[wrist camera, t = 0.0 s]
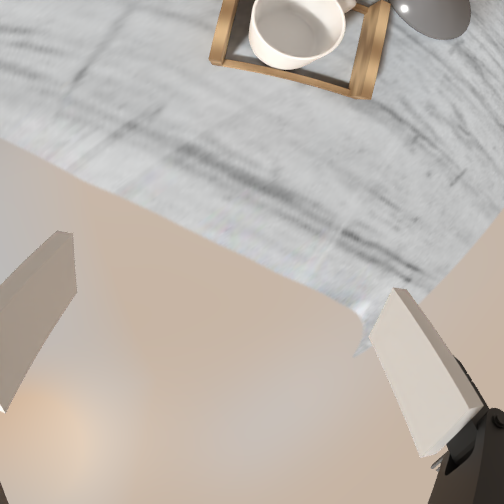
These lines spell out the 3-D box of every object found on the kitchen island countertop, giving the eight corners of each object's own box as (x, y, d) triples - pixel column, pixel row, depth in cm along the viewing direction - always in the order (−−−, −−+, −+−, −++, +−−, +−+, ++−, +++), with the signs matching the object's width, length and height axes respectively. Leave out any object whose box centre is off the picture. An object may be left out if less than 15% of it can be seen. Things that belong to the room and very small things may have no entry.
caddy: (235, -25, 26) (235, -41, 22) (374, 12, 28) (390, 3, 24) (212, 64, 32) (208, 59, 27) (355, 99, 34) (370, 99, 29)
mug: (320, -12, 27) (346, -43, 18) (356, 42, 31) (393, 26, 21) (234, 27, 30) (233, 2, 20) (272, 82, 33) (284, 75, 24)
